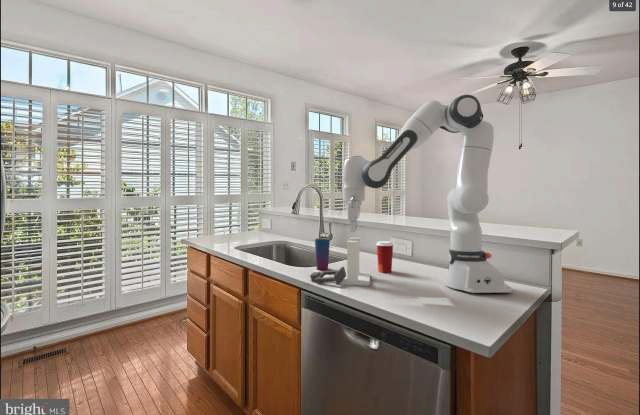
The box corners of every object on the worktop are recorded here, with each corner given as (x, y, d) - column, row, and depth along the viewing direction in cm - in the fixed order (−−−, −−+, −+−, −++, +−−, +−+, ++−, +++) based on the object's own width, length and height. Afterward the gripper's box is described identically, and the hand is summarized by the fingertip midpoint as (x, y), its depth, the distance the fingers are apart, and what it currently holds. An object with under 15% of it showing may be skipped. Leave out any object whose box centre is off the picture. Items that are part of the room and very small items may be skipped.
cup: (328, 273, 145) (328, 240, 145) (313, 273, 146) (313, 239, 146) (330, 270, 152) (330, 238, 152) (316, 270, 153) (316, 238, 153)
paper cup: (395, 272, 148) (395, 241, 148) (390, 275, 141) (390, 243, 141) (379, 270, 152) (379, 240, 152) (373, 273, 145) (373, 242, 145)
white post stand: (369, 276, 140) (370, 237, 140) (369, 285, 124) (369, 242, 124) (339, 275, 142) (339, 237, 142) (335, 284, 126) (335, 241, 126)
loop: (335, 274, 122) (306, 276, 129) (338, 284, 122) (309, 285, 129) (343, 266, 128) (315, 268, 135) (346, 276, 129) (318, 277, 135)
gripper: (360, 195, 122) (360, 233, 122) (362, 197, 142) (362, 228, 142) (343, 195, 123) (343, 232, 123) (347, 197, 143) (347, 228, 143)
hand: (353, 230), depth 133 cm, fingers open, 8 cm apart
